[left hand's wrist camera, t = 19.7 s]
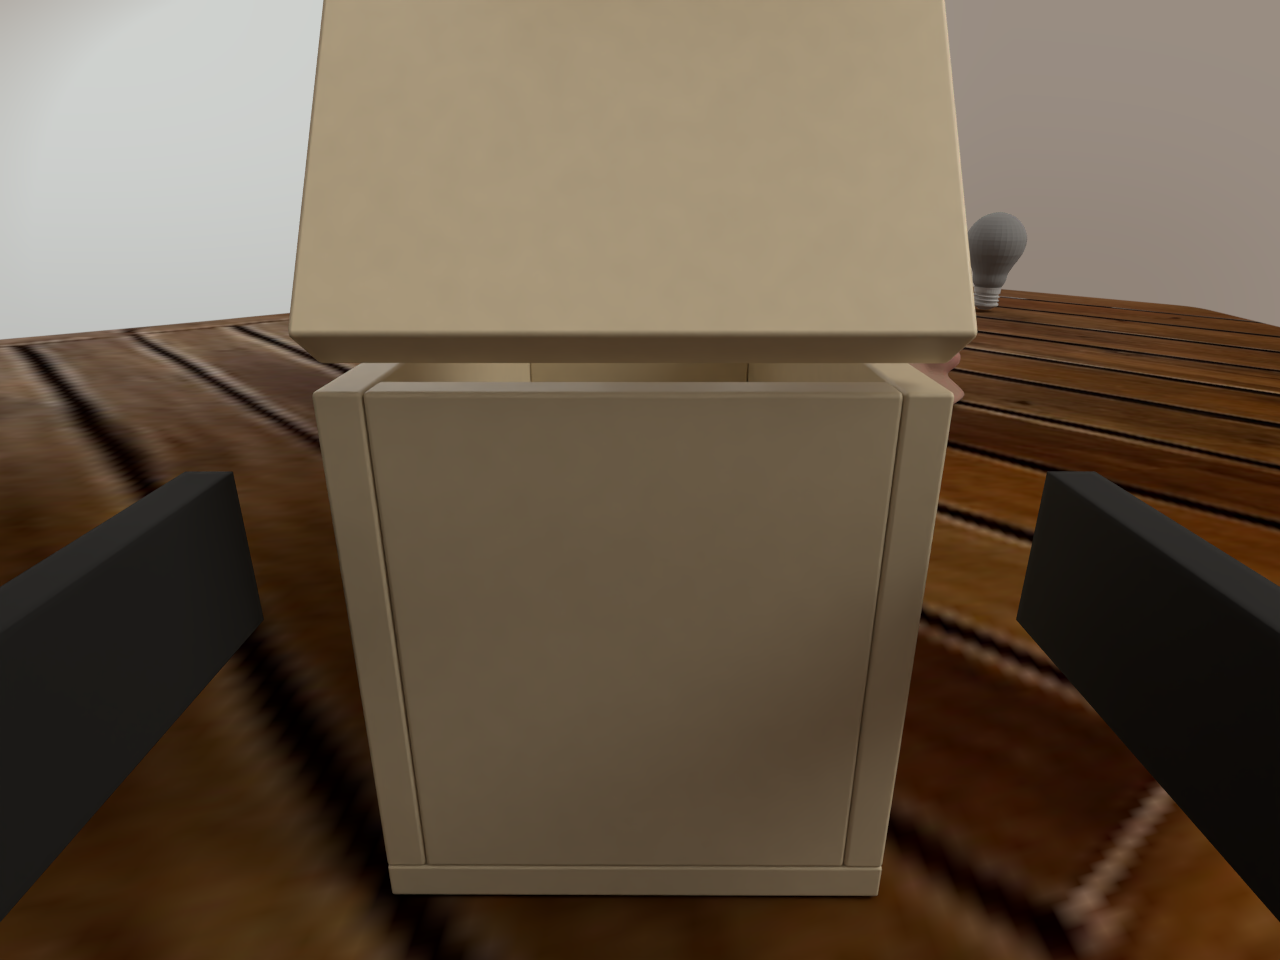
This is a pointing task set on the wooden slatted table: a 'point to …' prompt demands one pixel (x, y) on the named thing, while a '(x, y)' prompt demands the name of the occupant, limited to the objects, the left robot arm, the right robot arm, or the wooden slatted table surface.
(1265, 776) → the left robot arm
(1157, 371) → the wooden slatted table surface
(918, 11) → the lid
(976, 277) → the light bulb
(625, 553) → the chest
